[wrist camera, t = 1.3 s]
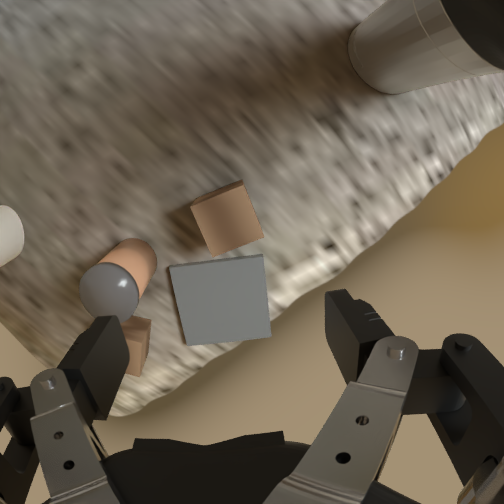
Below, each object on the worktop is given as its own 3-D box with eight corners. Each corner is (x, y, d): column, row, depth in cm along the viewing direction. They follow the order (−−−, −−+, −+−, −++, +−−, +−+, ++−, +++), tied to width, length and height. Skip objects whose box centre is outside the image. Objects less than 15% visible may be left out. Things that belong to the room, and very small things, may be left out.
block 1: (151, 319, 36) (141, 342, 31) (148, 352, 38) (139, 376, 33) (112, 310, 36) (98, 331, 31) (111, 342, 37) (99, 366, 32)
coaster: (262, 254, 34) (263, 256, 34) (270, 333, 37) (271, 336, 37) (170, 265, 34) (169, 267, 33) (188, 342, 37) (187, 345, 37)
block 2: (241, 179, 32) (243, 184, 27) (259, 224, 33) (264, 237, 29) (196, 198, 32) (190, 206, 27) (215, 241, 34) (212, 257, 29)
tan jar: (152, 233, 33) (127, 262, 24) (162, 281, 35) (143, 322, 26) (107, 240, 33) (71, 269, 24) (118, 286, 35) (89, 325, 26)
